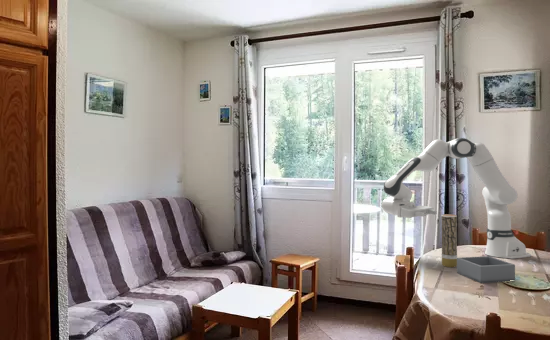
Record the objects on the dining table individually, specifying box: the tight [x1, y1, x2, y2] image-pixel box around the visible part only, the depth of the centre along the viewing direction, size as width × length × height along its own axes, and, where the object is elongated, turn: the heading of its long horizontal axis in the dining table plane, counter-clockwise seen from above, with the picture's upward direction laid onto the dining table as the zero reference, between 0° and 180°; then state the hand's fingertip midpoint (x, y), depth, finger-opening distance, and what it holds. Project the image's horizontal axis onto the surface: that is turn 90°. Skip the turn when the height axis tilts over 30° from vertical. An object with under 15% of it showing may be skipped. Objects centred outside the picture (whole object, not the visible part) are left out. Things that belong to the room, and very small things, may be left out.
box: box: [456, 255, 516, 284], centre depth 169 cm, size 16×16×7 cm
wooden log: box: [441, 213, 458, 268], centre depth 188 cm, size 7×7×25 cm
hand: (430, 213), depth 197 cm, fingers open, 8 cm apart
